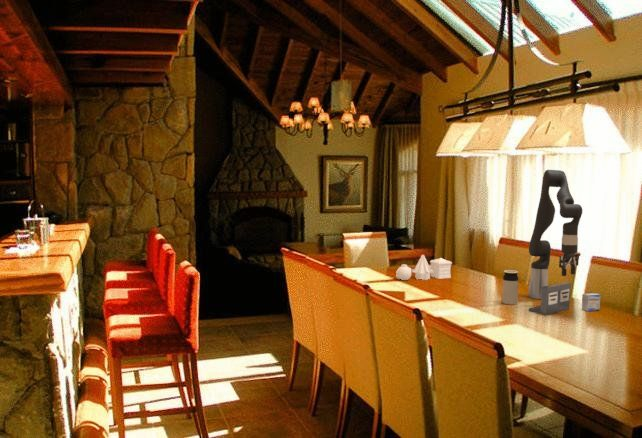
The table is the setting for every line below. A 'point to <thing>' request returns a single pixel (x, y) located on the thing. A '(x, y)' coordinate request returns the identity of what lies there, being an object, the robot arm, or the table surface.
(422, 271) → the decorative object set
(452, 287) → the table surface
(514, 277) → the travel mug
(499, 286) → the table surface
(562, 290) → the label panel
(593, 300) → the medicine box
